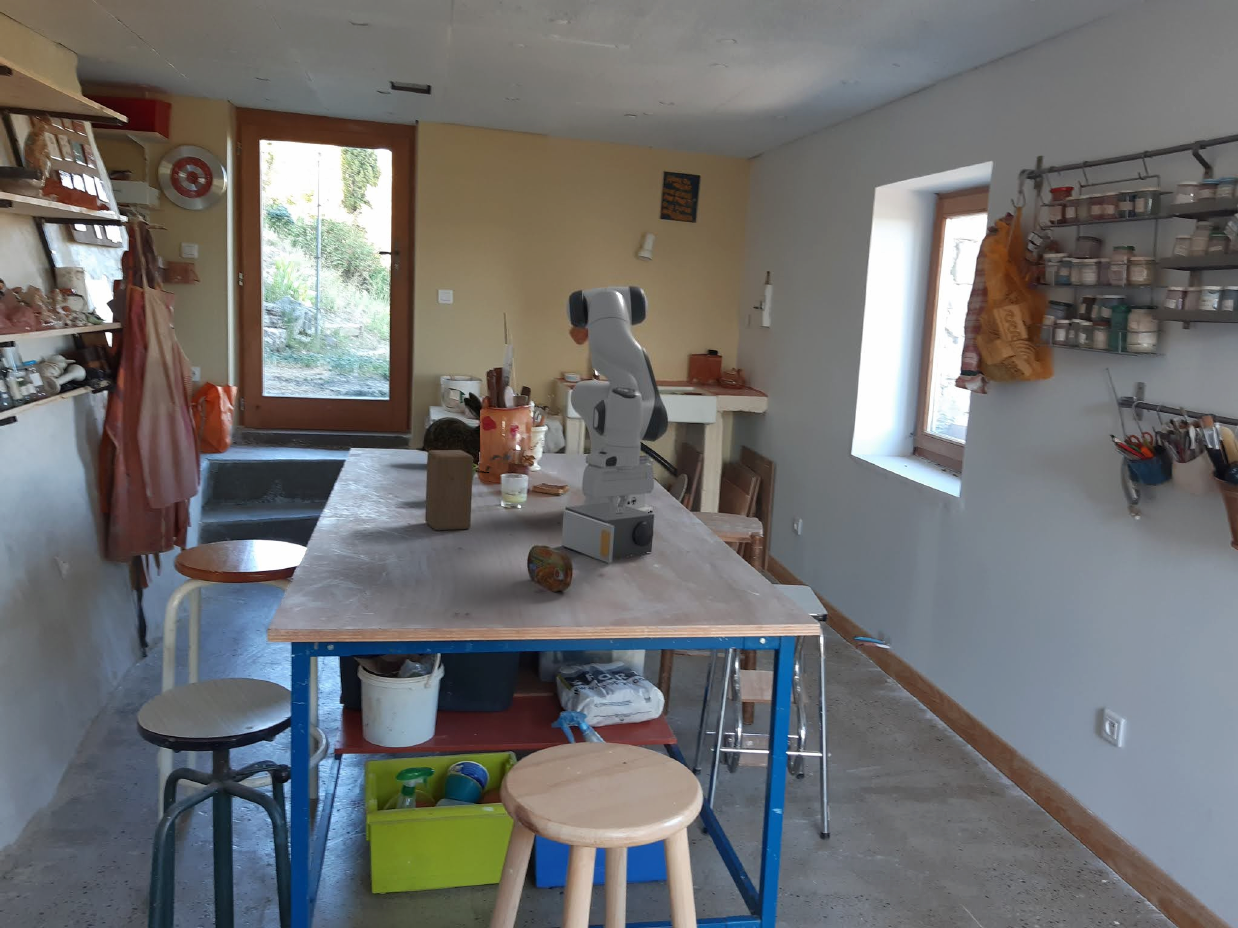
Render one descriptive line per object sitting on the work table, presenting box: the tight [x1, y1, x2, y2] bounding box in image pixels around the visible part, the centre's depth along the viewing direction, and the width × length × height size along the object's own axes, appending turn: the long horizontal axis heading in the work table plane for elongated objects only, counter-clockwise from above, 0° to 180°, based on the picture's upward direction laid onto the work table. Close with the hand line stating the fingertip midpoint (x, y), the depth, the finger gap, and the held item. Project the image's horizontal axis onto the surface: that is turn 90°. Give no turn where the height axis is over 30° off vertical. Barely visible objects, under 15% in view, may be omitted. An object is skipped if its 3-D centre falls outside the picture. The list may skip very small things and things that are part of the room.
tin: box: [526, 544, 574, 593], centre depth 207 cm, size 15×3×8 cm, turn 36°
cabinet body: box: [564, 502, 655, 560], centre depth 240 cm, size 16×17×10 cm
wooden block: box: [424, 450, 474, 532], centre depth 252 cm, size 10×10×20 cm
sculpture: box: [416, 391, 483, 466], centre depth 337 cm, size 19×29×27 cm, turn 57°
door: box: [561, 509, 614, 564], centre depth 233 cm, size 2×18×9 cm, turn 41°
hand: (617, 513), depth 228 cm, fingers closed
